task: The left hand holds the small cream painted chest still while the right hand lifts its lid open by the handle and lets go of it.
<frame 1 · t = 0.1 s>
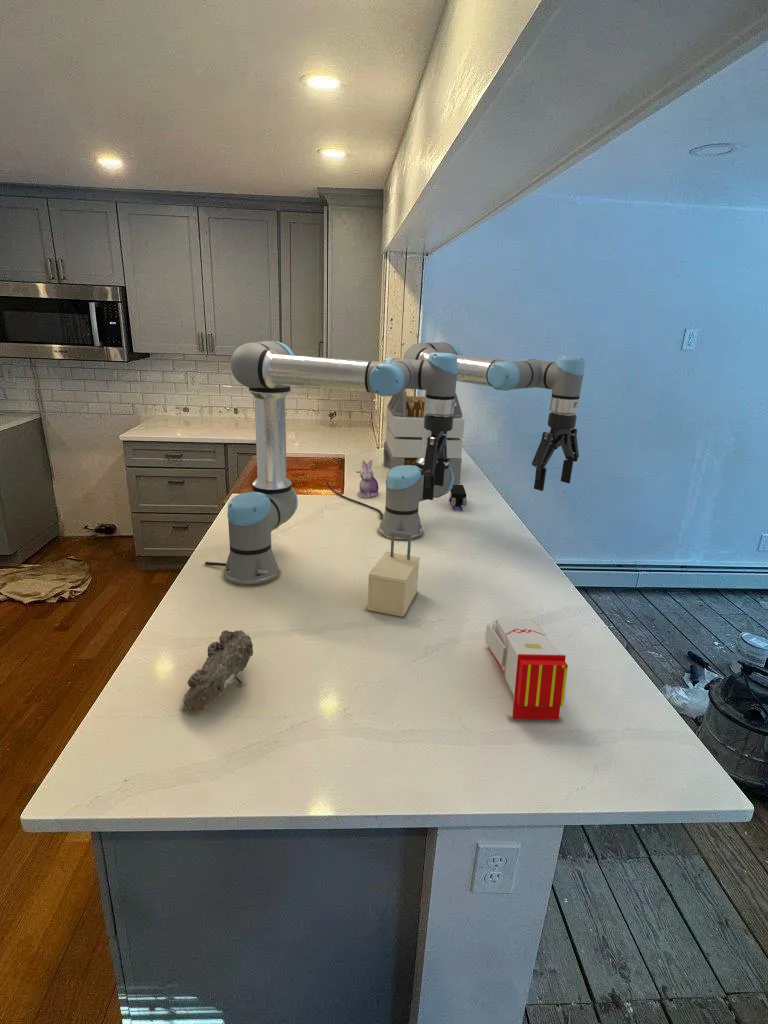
left hand: (433, 491, 155), 28 cm above the counter, tool pointing down, fingers open, 13 cm apart
right hand: (552, 485, 166), 28 cm above the counter, tool pointing down, fingers open, 13 cm apart
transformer: (419, 473, 275), on the counter
toy: (517, 677, 124), on the counter
figurine character: (456, 506, 231), on the counter
figurine: (368, 495, 239), on the counter
lid: (395, 553, 150), point 14 cm above the counter, hinge at 0.0°
fossil: (223, 681, 118), on the counter
chest: (392, 600, 154), on the counter
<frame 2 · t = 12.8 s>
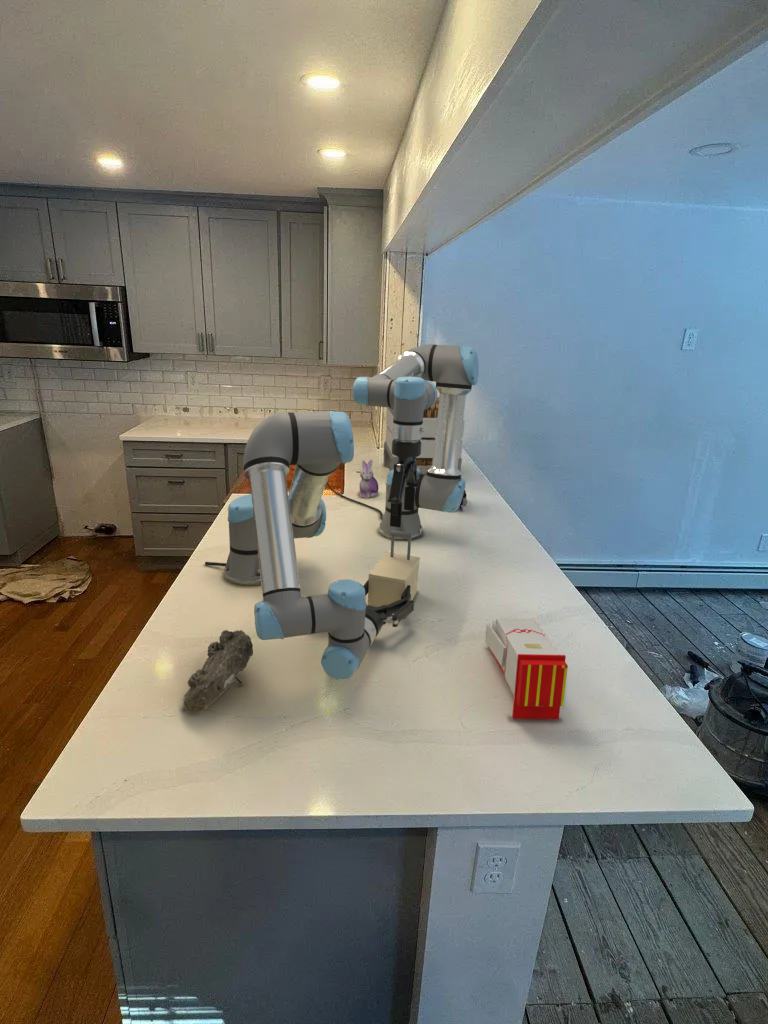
left hand: (389, 586, 148), 6 cm above the counter, tool horizontal, fingers closed on chest, 10 cm apart
right hand: (402, 517, 151), 22 cm above the counter, tool pointing down, fingers open, 13 cm apart
chest: (393, 600, 154), on the counter, touching left hand
everything else where it was.
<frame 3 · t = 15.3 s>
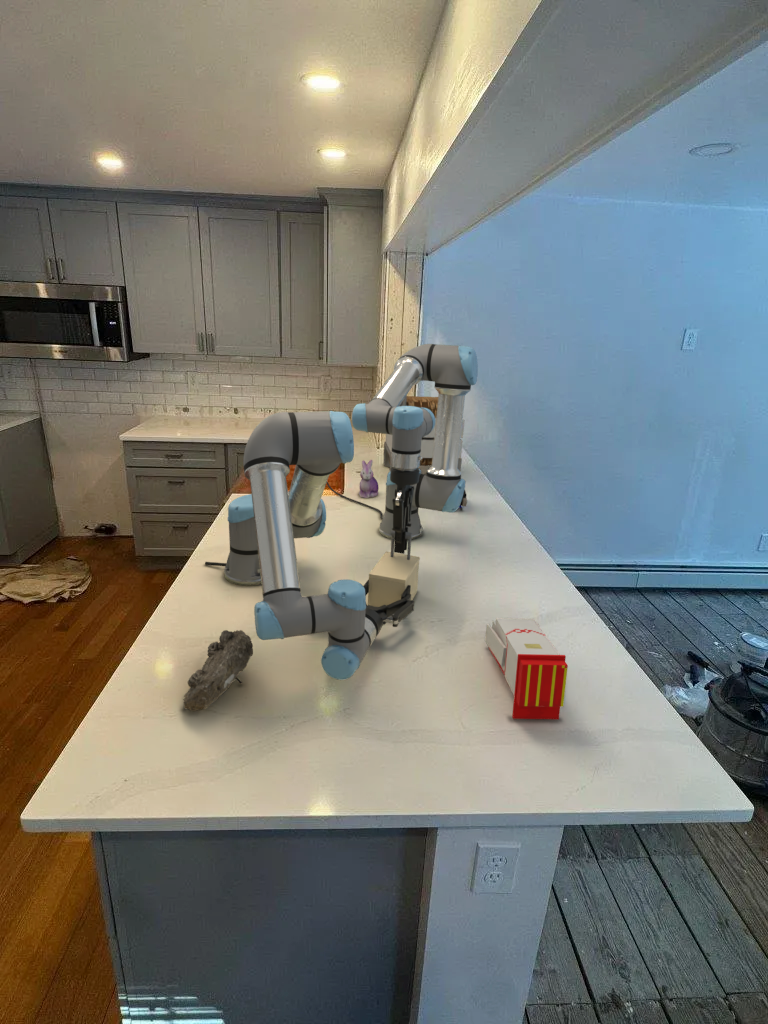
left hand: (389, 586, 148), 7 cm above the counter, tool horizontal, fingers closed on chest, 10 cm apart
right hand: (400, 550, 154), 13 cm above the counter, tool pointing down, fingers closed on lid, 2 cm apart
lid: (396, 553, 150), point 14 cm above the counter, hinge at 0.1°, touching right hand
chest: (393, 600, 154), on the counter, touching left hand
everything else where it was.
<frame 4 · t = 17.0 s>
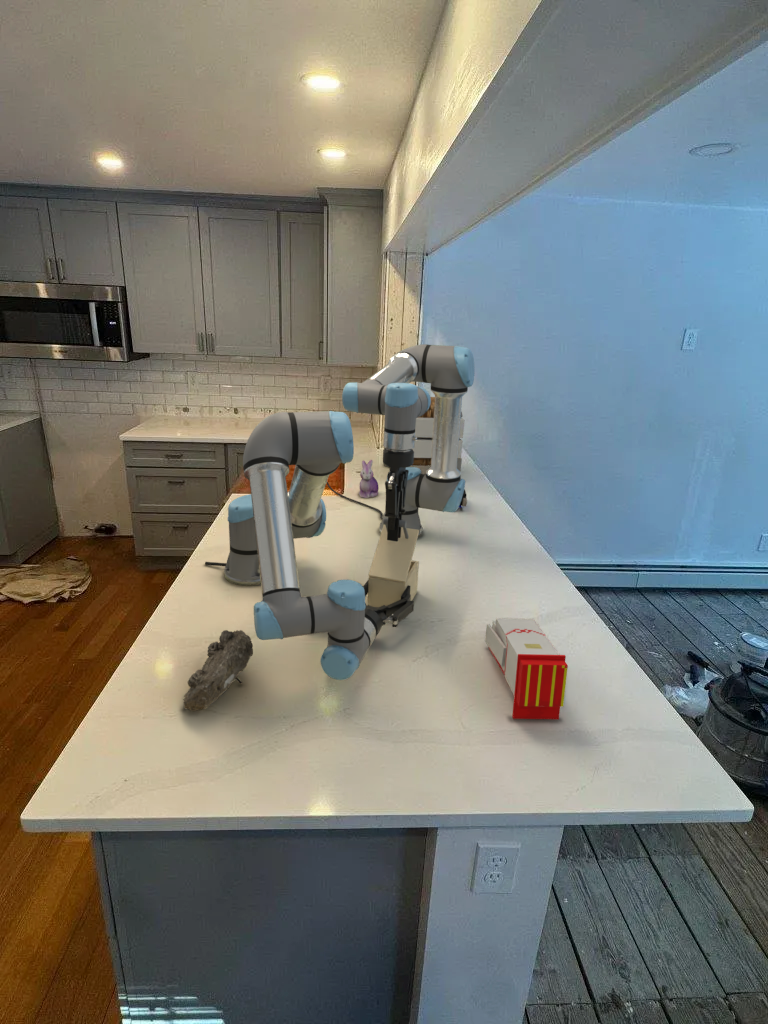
left hand: (389, 586, 148), 6 cm above the counter, tool horizontal, fingers closed on chest, 10 cm apart
right hand: (393, 538, 145), 19 cm above the counter, tool pointing down, fingers closed on lid, 2 cm apart
lid: (392, 545, 144), point 18 cm above the counter, hinge at 38.8°, touching right hand
chest: (392, 600, 154), on the counter, touching left hand
everything else where it was.
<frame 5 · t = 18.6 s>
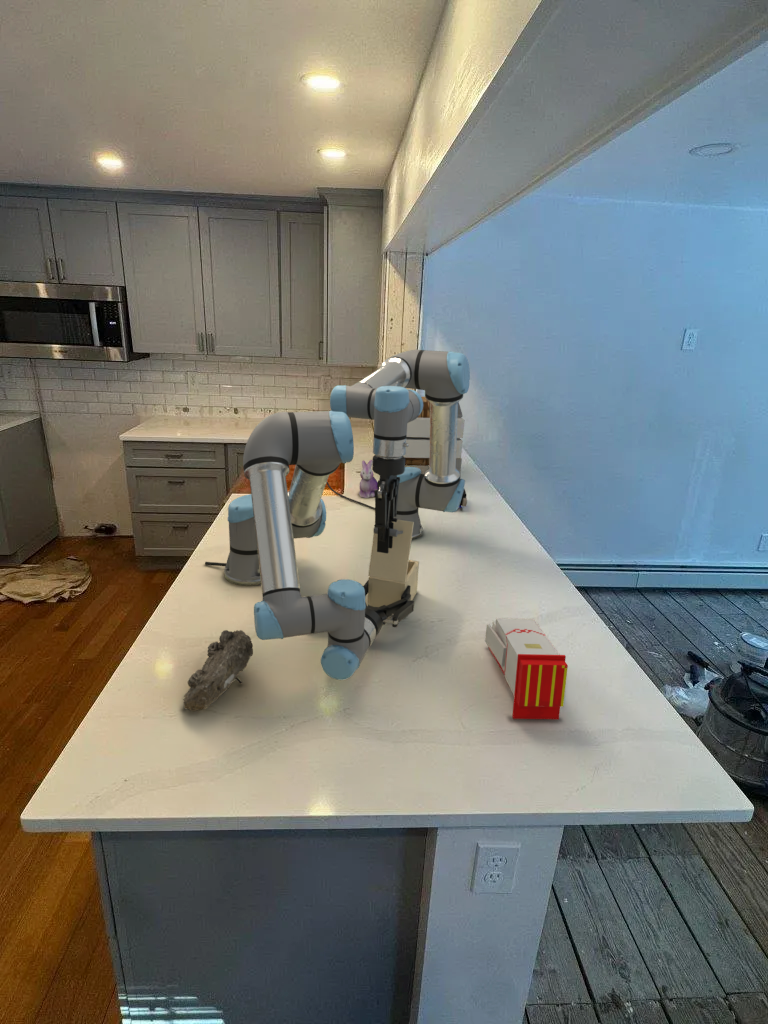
left hand: (389, 586, 148), 6 cm above the counter, tool horizontal, fingers closed on chest, 10 cm apart
right hand: (384, 549, 138), 20 cm above the counter, tool pointing down, fingers open, 3 cm apart
lid: (386, 550, 140), point 19 cm above the counter, hinge at 71.3°
chest: (393, 600, 154), on the counter, touching left hand
everything else where it was.
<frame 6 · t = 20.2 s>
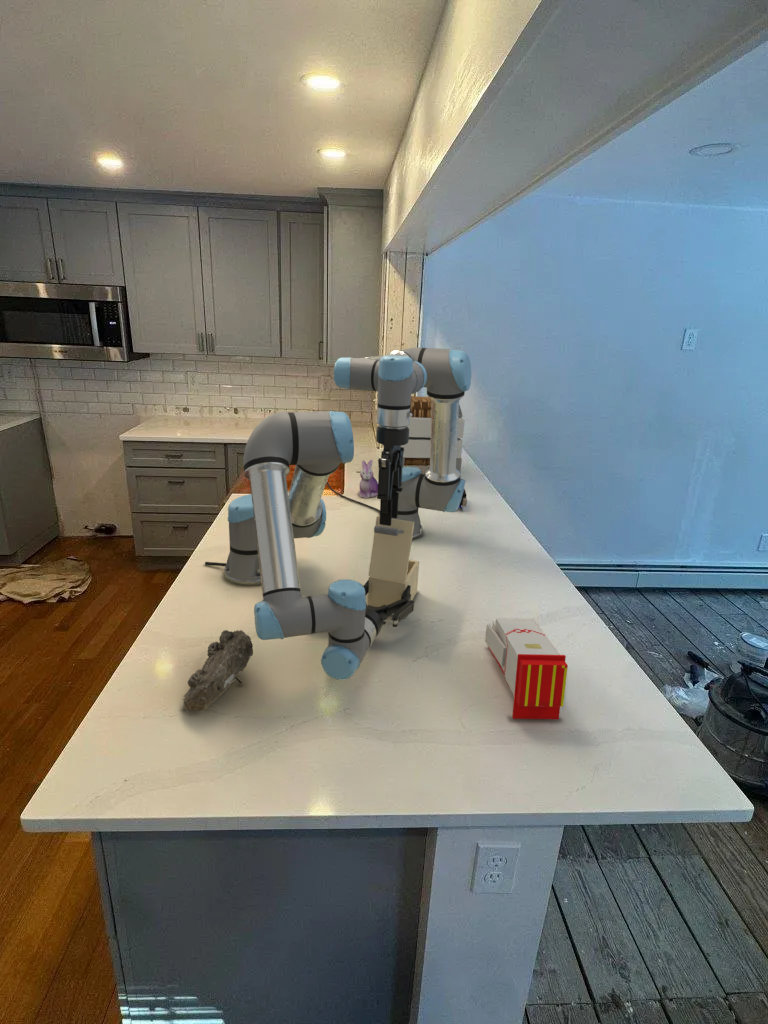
left hand: (389, 586, 148), 6 cm above the counter, tool horizontal, fingers closed on chest, 10 cm apart
right hand: (388, 520, 138), 26 cm above the counter, tool pointing down, fingers open, 5 cm apart
lid: (387, 549, 140), point 19 cm above the counter, hinge at 70.2°
chest: (393, 600, 154), on the counter, touching left hand
everything else where it was.
when the left hand's fingers open (6 cm above the counter, at t = 23.0 s): chest stays where it is, on the counter.
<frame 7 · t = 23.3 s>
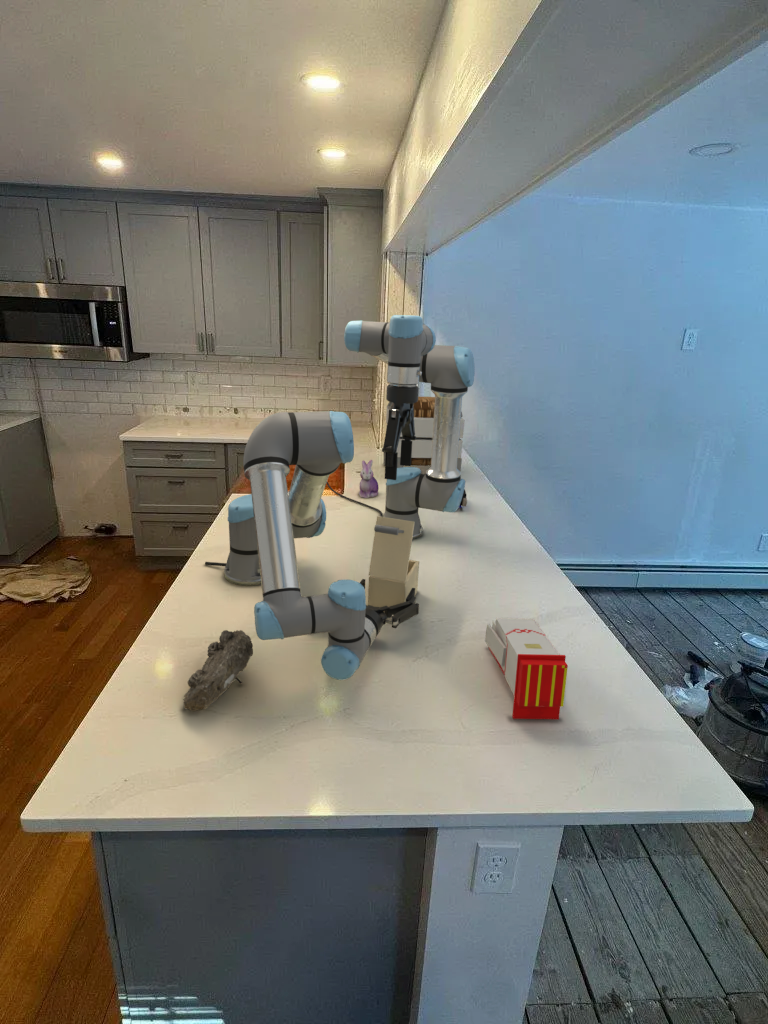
left hand: (388, 588, 147), 7 cm above the counter, tool horizontal, fingers open, 13 cm apart
right hand: (398, 472, 140), 37 cm above the counter, tool pointing down, fingers open, 13 cm apart
lid: (387, 549, 140), point 19 cm above the counter, hinge at 69.4°
chest: (393, 600, 154), on the counter
everything else where it was.
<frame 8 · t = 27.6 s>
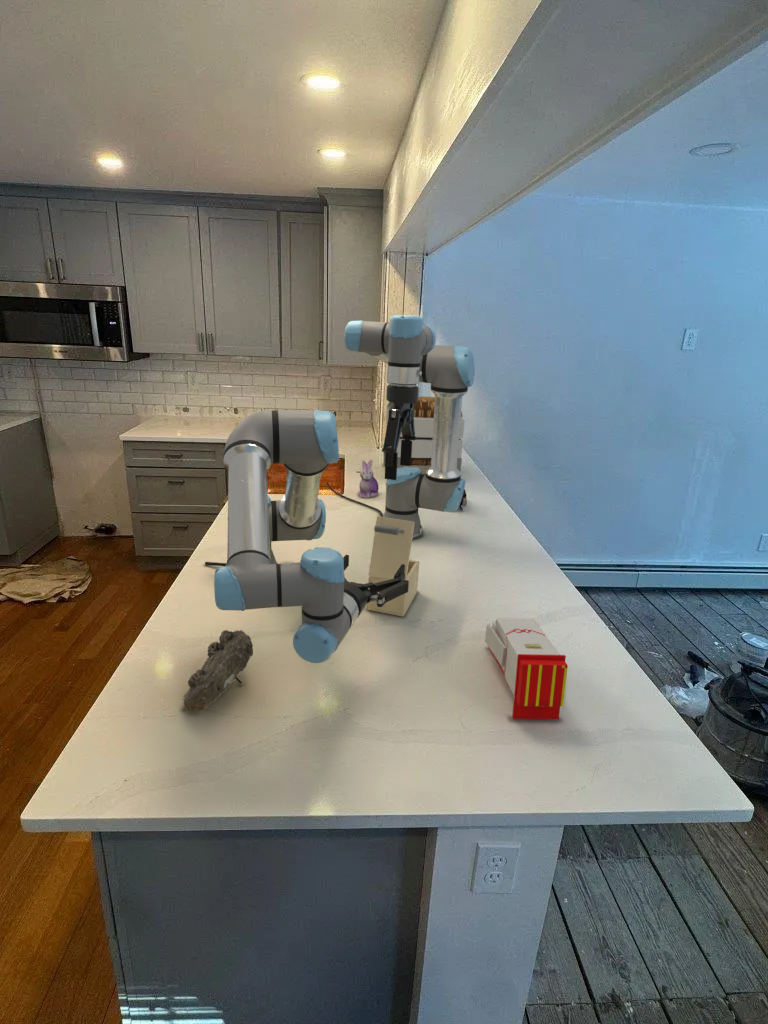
left hand: (374, 564, 131), 19 cm above the counter, tool horizontal, fingers open, 13 cm apart
right hand: (398, 472, 140), 37 cm above the counter, tool pointing down, fingers open, 13 cm apart
nothing on the counter moved.
at the end: lid at +69° (first picture: +0°); the left hand is holding nothing; the right hand is holding nothing; chest tilted 0°; chest never tilted more than 1° during the clip; chest moved 0.1 cm from its start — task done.
